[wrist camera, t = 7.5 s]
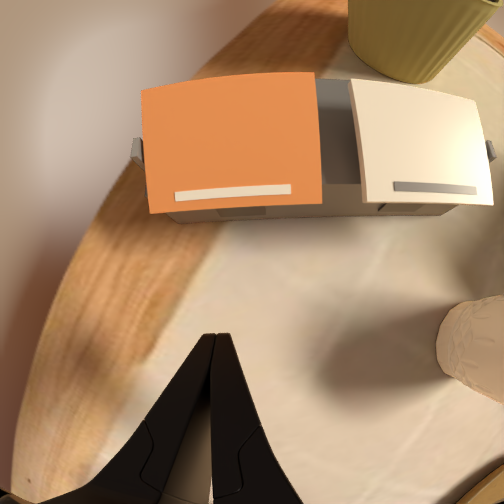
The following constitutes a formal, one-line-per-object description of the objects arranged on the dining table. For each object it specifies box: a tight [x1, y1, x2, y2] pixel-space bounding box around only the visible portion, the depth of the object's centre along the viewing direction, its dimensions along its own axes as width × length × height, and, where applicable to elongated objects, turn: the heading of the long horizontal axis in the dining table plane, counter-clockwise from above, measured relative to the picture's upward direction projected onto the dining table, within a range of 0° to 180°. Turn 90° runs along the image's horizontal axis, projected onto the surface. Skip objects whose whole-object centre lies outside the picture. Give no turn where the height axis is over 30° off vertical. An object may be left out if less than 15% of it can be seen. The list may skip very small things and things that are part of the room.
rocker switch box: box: [131, 79, 497, 224], centre depth 18 cm, size 8×27×9 cm, turn 92°
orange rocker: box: [141, 72, 322, 214], centre depth 14 cm, size 7×9×1 cm
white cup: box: [436, 294, 504, 405], centre depth 14 cm, size 8×8×10 cm
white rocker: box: [348, 79, 493, 206], centre depth 13 cm, size 7×9×1 cm
